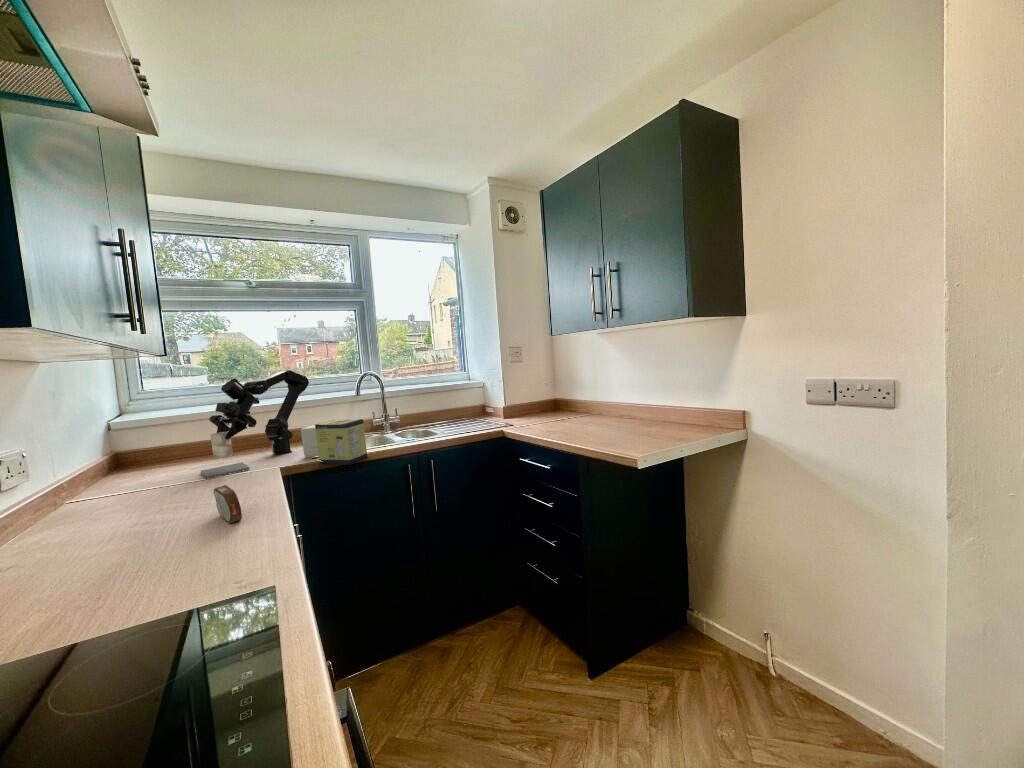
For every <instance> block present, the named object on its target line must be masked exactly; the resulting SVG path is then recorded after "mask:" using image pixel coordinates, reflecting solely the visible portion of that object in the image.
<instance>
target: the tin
mask: <svg viewBox="0 0 1024 768" xmlns="http://www.w3.org/2000/svg"><path fill="white" fill-rule="evenodd" d="M213 495H214V498H215V502H216V503H215V504H216V510H217V511H218V514H219V515H220V517H221V518H222V519H223V520H225V521H226V522H227V523H228V524H232V523H236V522H238V521H242V518H243V514H242V508H241V503H240V500H239V497H238V496H237V492H235V490H234V489H233V488H231V487H230V486H228V485H227V484H223V485H222V486H218V487H215V488H214V489H213Z"/></svg>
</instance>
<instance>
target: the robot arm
mask: <svg viewBox="0 0 1024 768" xmlns="http://www.w3.org/2000/svg"><path fill="white" fill-rule="evenodd" d="M283 381H284V383H285V384H287V390H288V391H287V393H286V395H285V397H284V399H283V402H282V404H281V406H280V408H279V410H278V411H277V412H278V413H277V414H276V416H275V417H274V418H269V419H268V420H267V424H266V425H264V426H265V429H264V432H265V434H266V436H267V439H268V441H272V443H271V452H272V454H273V453H274V455H275V454H276V456H279V455H283V454H288V453H292V452H293V450H292V449H291V444H290V442H291V441H290V439H293V435H294V434H293V432H291V430H289V418H290V416H291V414H292V412H293V410H294V408H295V405H296V402H297V400H298V399H299V396H300V395H301V394H302V393H304V391H306V390H307V388H308V386H309V384H310V381H309V379H308V377H307V376H306V375H302V374H301V373H297V372H295V371H293V370H290V369H283V370H280V371H278V372H276V373H274V374H271V375H269V376H267V377H264V378H262V379H258V380H257V379H256V380H251V381H246V382H245V383H244V384H242V383H240V381H239V380H238V379H236V378H231V379H230V380H229V381H227V382H226V383H225V384H222V386H221V388H220V390H221V392H223V393H224V394H225V395H226V396H227V397H229V399H231V400H233V401H229V402H217V403H216V407H215V410H214V411H215V412H216V413H218V412H219V413H221V414H222V415H221V414H219V415H218V414H215V415H211V416H210V417H209V419H208V421H209V422H211V423H212V424H213V425H215V427H216V433H219V432H228V433H227V435H226V437H225V439H227V440H228V439H230V438H231V439H232V438H233V437H234V436H236V435H238V434H239V433H241V432H243V431H244V430H247V429H248V427H249V428H255V427H256V425H257V422H258V421H257V419H256V418H255V417H253V416H252V415H250V414H251V411H250V410H251V409H252V407H253V405H258V404H260V400H259V397H255V396H259V395H264V394H265V392H267V391H268V390H269V388H271V387H273V386H275V385H277V384H279V383H282V382H283ZM235 400H236V401H235ZM230 424H231V425H230ZM229 425H230V427H229Z"/></svg>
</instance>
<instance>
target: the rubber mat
mask: <svg viewBox="0 0 1024 768" xmlns="http://www.w3.org/2000/svg"><path fill="white" fill-rule="evenodd" d="M248 469H250V466H248V465H247V464H246V463H244V462H243V461H241V462H236V463H231V464H226V465H221V466H217V467H211V468H207V469H201V470H200V473H201V475H202V474H203V475H202V476H203V477H204V479H205V478H209V479H212V478H211V477H214V478H216V477H215V476H219V477H221V476H220V475H223V476H225V475H224V474H228V475H230V474H229V473H233V474H235V473H234V472H237V473H239V472H238V471H242V472H244V471H243V470H247V471H249V470H248ZM250 470H251V469H250Z"/></svg>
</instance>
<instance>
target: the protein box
mask: <svg viewBox="0 0 1024 768" xmlns="http://www.w3.org/2000/svg"><path fill="white" fill-rule="evenodd" d="M314 425H315V430H316V438H317V446H318V455H319V457H318V460H321V461H323V463H322V464H339V465H341V464H342V465H344V464H346V465H349V464H354V463H355V462H357V461H360V460H362V459H365V458H368V451H367V448H368V447H367V442H366V441H367V440H366V431H365V425H364V419H361V418H358V419H332V420H328V421H325V422H321V423H317V424H314Z"/></svg>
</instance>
